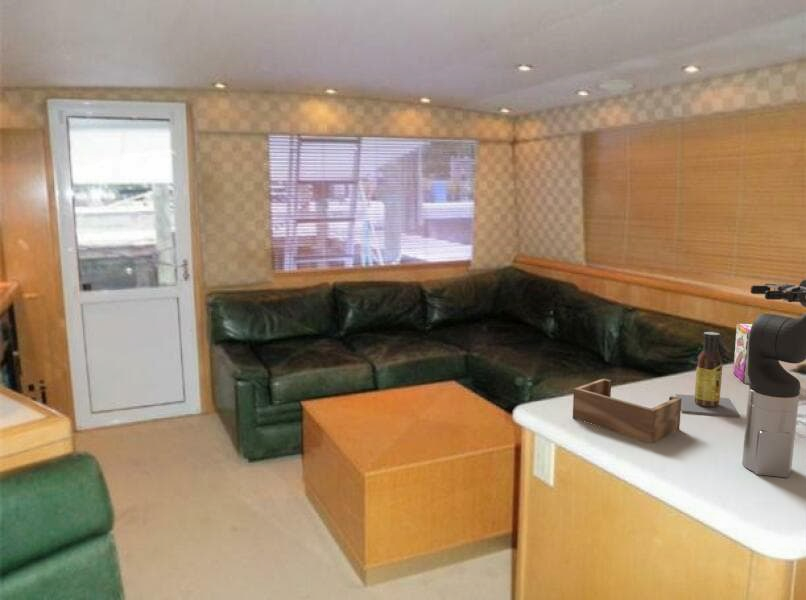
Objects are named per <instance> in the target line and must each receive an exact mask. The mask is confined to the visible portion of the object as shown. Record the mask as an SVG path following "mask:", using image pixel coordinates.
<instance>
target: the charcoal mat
mask: <svg viewBox="0 0 806 600" xmlns="http://www.w3.org/2000/svg"><path fill="white" fill-rule="evenodd" d="M674 395H675V396H676V397H677V398H681V413H682V414H691V413H694V414H693V415H702V416H703V415H706V416H716V417H728V418H729V417H730V418H738V419H739V418H741V415H740V413H739V412H738V410H737V409H736V407H735V404H733V402H732V400H731V399H730V398H729V397H720V400H719V404H718V406H715V407H705V406H700V405H698V404H696V403H695V394H693V395H692V394H682V393H681V394H679V393H677V394H676V393H675V394H674ZM675 396H674V397H675Z"/></svg>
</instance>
